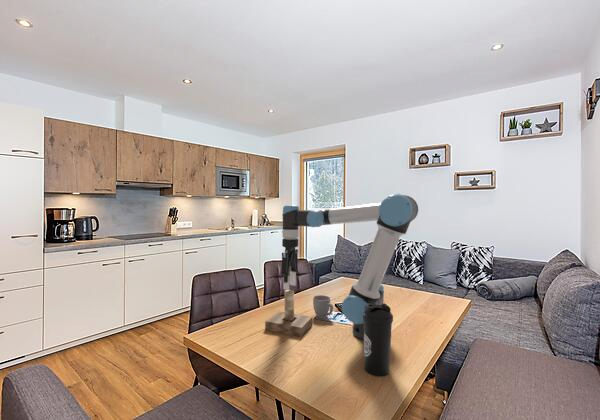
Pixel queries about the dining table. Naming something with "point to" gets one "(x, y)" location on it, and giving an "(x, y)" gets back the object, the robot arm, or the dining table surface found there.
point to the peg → (289, 305)
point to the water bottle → (377, 339)
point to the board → (289, 324)
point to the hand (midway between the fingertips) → (289, 287)
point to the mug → (322, 306)
